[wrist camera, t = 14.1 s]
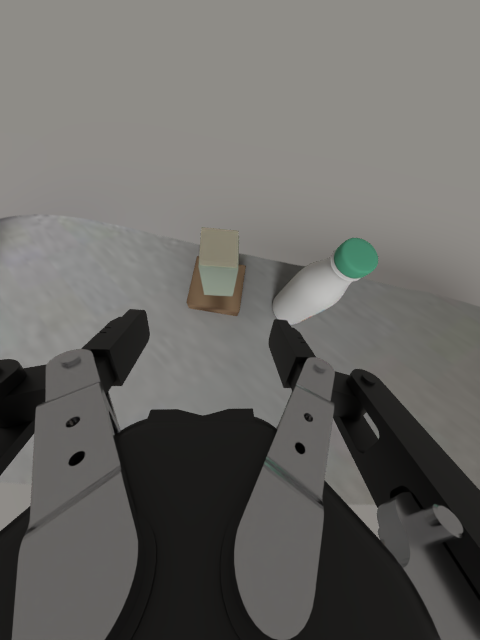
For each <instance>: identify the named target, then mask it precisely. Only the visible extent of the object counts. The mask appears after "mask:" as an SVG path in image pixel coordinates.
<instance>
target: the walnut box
mask: <svg viewBox="0 0 480 640" xmlns="http://www.w3.org/2000/svg"><path fill="white" fill-rule="evenodd" d="M198 266H199V256H197V259H196V263H195V268H194V272H193V276H192V281H191V285H190V289H189V294H188V298H187V304H188V306H189V308H191V309H197V310H203V311H209V312H215V313H221V314H227V315H233V316H237V315H238V313H239V310H240V303H241V296H242V289H243V282H244V275H245V267H246V266H244V265H239V264H238V274H237V278H236V283H235V287H234V292H233V296H215V295H204V291H203V286H202V281H201V276H200V271H199V267H198Z"/></svg>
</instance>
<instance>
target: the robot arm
mask: <svg viewBox="0 0 480 640" xmlns="http://www.w3.org/2000/svg"><path fill="white" fill-rule="evenodd" d="M149 336H150V332H149V326H148V320H147V314H146V311H145V310H135V309H130V310H128V311H127V312H126V313H125V314H124V315H123V316H122V317H118V318H116V319H114V320H112V321H110V322H109V323H108V324H107V325H106V326H105V328H103V329H102V330H101V331H100V333H98V334H97V335H95V336H94V337H93V338H92V339H91V340H90V341H89V342H88V343H87V344H86V345H85V346H84V347H83V348H82V349H76V350H71V351H67V352H65V353H62V354H60V355H58V356H56V357H54V358H53V359H52V360H50V361H49V363H48V364H47V365H41V366H35V367H29V368H22V366H21V365H20V363H19V362H18V361H16V360H12V359H4V360H0V475H1V474H2V473H3V471H4V470H5V469H6V468H7V466H8V465H9V464H10V463H11V461H12V460H13V459H14V458H15V456H16V455H17V454H18V453H19V452H20V450H21V449H22V448H23V447H24V445H25V444H26V443H27V442H28V440H29V439H30V438H31V437H32V435H33V434H34V452H33V471H32V489H31V506H30V507H29V508H28V509H26V510H25V511H24V512H23V513H21V514H20V515H19V516H18V517H17V518H15V519H14V520H13V521H12V522H11V523H10V524H8V525H7V526H6V527H5V528H4V529H3V530H1V531H0V640H480V490H479V489H478V488H477V487H476V486H475V485H474V484H473V483H472V481H471V480H470V479H469V478H468V477H467V476H466V475H465V474H464V473H463V471H462V470H461V469H460V468H459V467H458V466H457V465H456V464H455V463H454V461H453V460H452V459H451V458H450V457H449V456H448V455H447V454H446V453H445V451H444V450H443V449H442V448H441V447H440V446H439V445H438V444H437V443H436V441H435V440H434V439H433V438H432V437H431V436H430V435H429V434H428V433H427V431H426V430H425V429H424V428H423V427H422V426H421V425H420V424H419V423H418V421H417V420H416V419H415V418H414V417H413V416H412V415H411V414H410V413H409V411H408V410H407V409H406V408H405V407H404V406H403V405H402V404H401V403H400V401H399V400H398V399H397V398H396V397H395V396H394V395H393V394H392V393H391V391H390V390H389V389H388V388H387V387H386V386H385V385H384V384H383V383H382V381H381V380H380V379H379V378H377V377H376V376H375V375H373V374H372V373H370V372H367V371H365V370H361V369H355V370H353V371H352V372H351V374H350V375H346V374H343V373H339V372H335V371H334V369H333V367H332V366H331V365H330V364H329V363H328V362H326V361H324V360H322V359H320V358H316V356H315V355H314V353H313V352H312V350H311V349H310V347H309V346H308V344H307V343H306V341H305V340H304V339H303V337H302V335H301V334H300V332H298V331H297V330H296V329H295V328H291V326H290V324H289V323H288V321H287V320H279V319H275V320H274V322H273V326H272V329H271V333H270V337H269V348H270V351H271V354H272V356H273V359H274V362H275V365H276V368H277V370H278V373H279V376H280V379H281V382H282V384H283V387H284V388H291V389H292V393H291V396H290V398H289V400H288V403H287V405H286V408H285V410H284V412H283V415H282V417H281V419H280V422H279V424H278V426H277V429H276V428H275V427H274V426H272V425H271V424H269V423H268V422H266V421H264V420H262V419H260V418H257V417H254V414H253V409H227V410H223V411H220V412H216V413H212V414H209V415H204V416H202V415H197V414H194V413H190V412H186V411H182V410H178V409H171V410H151V411H150V413H149V416H148V419H144V420H142V421H139V422H136V423H134V424H132V425H130V426H128V427H126V428H125V429H123V430H120V427H119V424H118V421H117V418H116V414H115V411H114V408H113V404H112V401H111V398H110V395H109V392H108V391H109V389H110V388H111V386H122V385H123V383H124V381H125V380H126V378H127V376H128V375H129V373H130V371H131V370H132V368H133V366H134V364H135V363H136V361H137V359H138V358H139V356H140V354H141V353H142V351H143V349H144V348H145V346H146V344H147V342H148V340H149ZM366 412H367V413H368V415H369V416H370V418H371V419H372V421H373V422H374V424H375V425H376V427H377V428H378V431H379V439H378V438H377V436H376V435H375V433H374V432H373V430H372V429H371V427H370V426H369V424H368V423H367V421H366V419H365V418H364V416H363V415H364V414H365V413H366ZM333 419H334V421H335V423H336V425H337V427H338V429H339V431H340V433H341V435H342V437H343V439H344V441H345V443H346V445H347V447H348V449H349V451H350V453H351V455H352V457H353V459H354V461H355V463H356V465H357V467H358V469H359V471H360V473H361V475H362V477H363V479H364V481H365V483H366V485H367V487H368V489H369V492H370V494H371V496H372V498H373V500H374V502H375V504H376V506H377V508H378V510H377V519H378V524H379V529H378V535H379V538H380V540H379V539H378V537H376V535H375V534H374V533H373V532H372V531H371V530H370V529H369V528H368V527H367V526H366V525H365V523H364V522H363V521H362V520H361V519H360V518H359V517H358V516H357V515H356V514H355V513H354V512H353V510H352V509H351V508H350V507H349V506H348V505H347V504H346V503H345V502H344V501H343V500H342V499H341V497H340V496H339V495H338V494H337V493H336V492H335V491H334V490H333V489H332V488H331V487H330V486H329V485H328V483H327V482H326V481H325V480H324V479H325V472H326V465H327V457H328V450H329V443H330V435H331V428H332V421H333Z"/></svg>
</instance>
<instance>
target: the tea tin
mask: <svg viewBox="0 0 480 640" xmlns="http://www.w3.org/2000/svg"><path fill="white" fill-rule="evenodd" d="M238 261H239V236H238V231H234V230H223V229H214V228H204V227H202V228H201V240H200V253H199V266H198V267H199V271H200V276H201V281H202V286H203V291H204V295H215V296H233V292H234V287H235V283H236V278H237V274H238Z"/></svg>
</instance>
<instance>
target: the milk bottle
mask: <svg viewBox="0 0 480 640" xmlns="http://www.w3.org/2000/svg"><path fill="white" fill-rule="evenodd" d="M377 264H378V256H377V253H376V251H375V249H374V248H373V246H372V245H371V244H370V243H368V242H367V241H365V240H363V239H360V238H351V239H348V240H346V241H345V242H344V243H342V244H341V245H340V246H339V247H338V248H337V250H335V251H334V252H333V253H332V255H331V257H329V258H327V259H324V260H320V261H316V262H314V263H311V264H309V265H307V266H306V267H304V268H303V269H302V270H300V271H299V272H298V273H297V274H296V275H295V276H294V277H293V278H292V279H291V280H290V281H289V282H288V284H287V285H286V286H285V287H284V288H283V289H282V290H281V291H280V292H279V293H278V294H277V296H276V297H275V298H274V300H273V304H272V308H273V312H274V314H275V316H276V318H277V319H279V320H287V321H288V323H289V324H290V325H292V324H296V323H299V322H301V321H303V320H305V319H307V318H310V317H312V316H314V315H316V314H318V313H320V312H322V311H324V310H325V309H327V308H329V307H331V306H332V305H334V304H335V303H336V302H337V301H338V300H339V299H340V298H341V297H342V296H343V294H344V292H345V291H346V289H347V287H348V286H349V284H350V283H351V282H352V281H357V280H359V279H360V278H362V277H364V276H366V275H368V274H369V273H371V272H372V271H373V270H374V269H375V268H376V266H377Z"/></svg>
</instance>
